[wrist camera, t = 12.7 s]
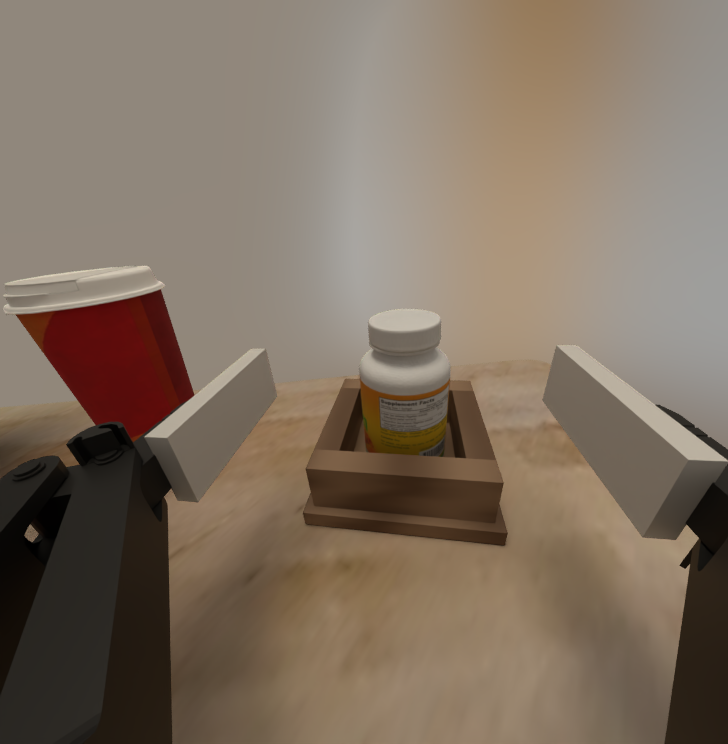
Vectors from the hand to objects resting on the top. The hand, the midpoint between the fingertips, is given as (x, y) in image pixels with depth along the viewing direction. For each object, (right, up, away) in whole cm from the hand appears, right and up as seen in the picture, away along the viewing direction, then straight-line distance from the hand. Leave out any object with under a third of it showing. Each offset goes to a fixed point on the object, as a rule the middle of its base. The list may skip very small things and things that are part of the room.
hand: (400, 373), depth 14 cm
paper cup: (-18, -7, +10) cm, 21 cm away
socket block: (+1, -6, +7) cm, 10 cm away
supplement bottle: (+1, -6, +7) cm, 9 cm away
